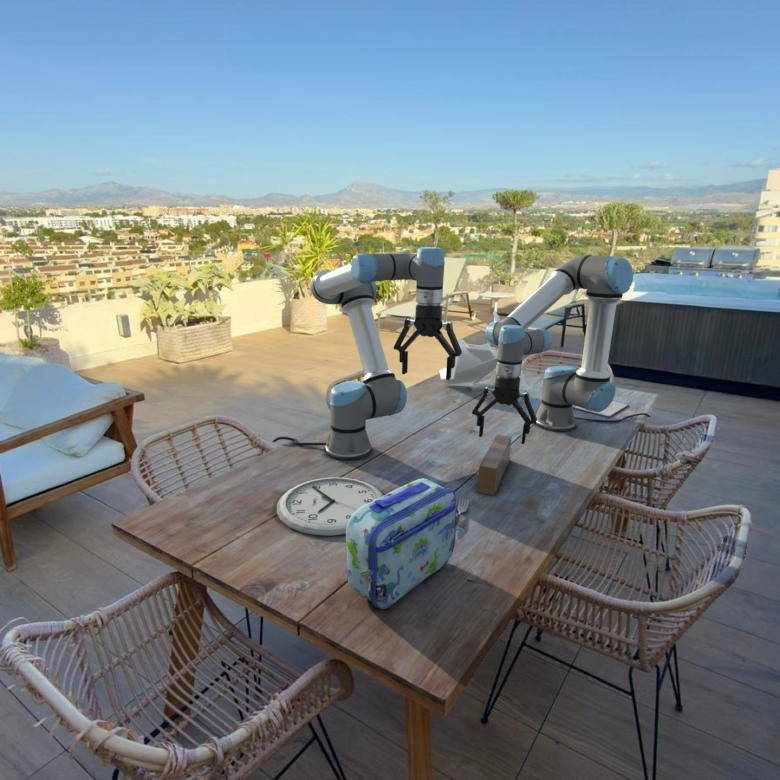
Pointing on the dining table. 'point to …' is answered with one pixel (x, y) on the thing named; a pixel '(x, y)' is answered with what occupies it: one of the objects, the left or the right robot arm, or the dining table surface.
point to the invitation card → (608, 409)
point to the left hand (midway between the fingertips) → (426, 376)
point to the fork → (461, 509)
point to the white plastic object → (475, 364)
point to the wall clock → (324, 504)
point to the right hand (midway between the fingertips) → (501, 439)
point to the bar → (494, 464)
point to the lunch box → (400, 540)
